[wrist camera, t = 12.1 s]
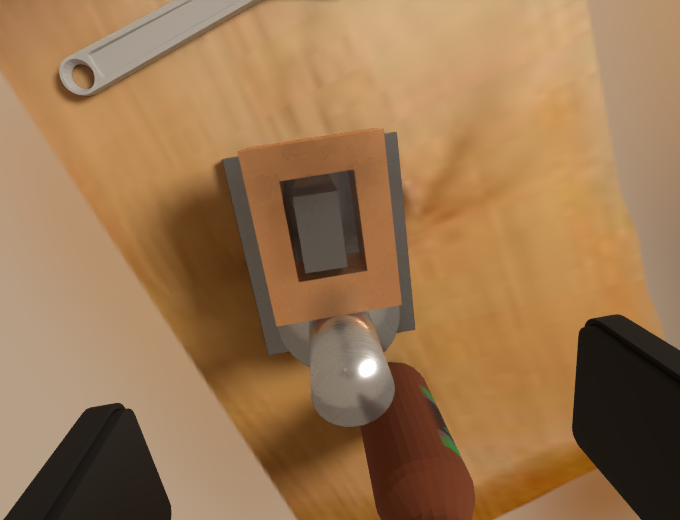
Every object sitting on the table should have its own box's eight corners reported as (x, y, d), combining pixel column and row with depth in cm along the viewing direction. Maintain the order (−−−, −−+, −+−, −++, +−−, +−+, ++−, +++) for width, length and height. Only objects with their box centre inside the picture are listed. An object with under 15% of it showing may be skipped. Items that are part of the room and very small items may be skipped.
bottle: (393, 429, 43) (506, 803, 19) (339, 397, 41) (391, 770, 17) (438, 381, 41) (619, 722, 18) (384, 345, 39) (507, 676, 16)
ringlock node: (222, 149, 32) (159, 168, 18) (393, 122, 33) (462, 121, 19) (269, 349, 38) (250, 481, 24) (412, 324, 39) (475, 439, 25)
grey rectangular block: (295, 173, 32) (292, 197, 22) (326, 169, 32) (337, 190, 22) (304, 227, 34) (305, 273, 23) (333, 223, 34) (347, 266, 24)
